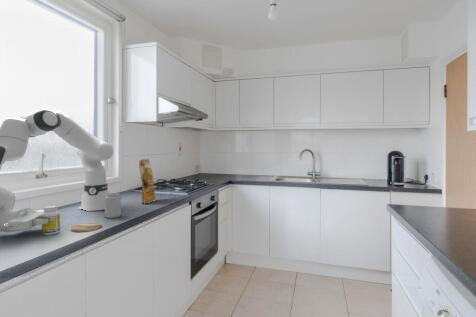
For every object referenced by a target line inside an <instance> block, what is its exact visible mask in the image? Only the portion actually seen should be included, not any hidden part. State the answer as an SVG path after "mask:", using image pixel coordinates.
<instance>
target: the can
mask: <svg viewBox="0 0 476 317" xmlns="http://www.w3.org/2000/svg"><path fill="white" fill-rule="evenodd" d="M104 199H105V209H104V216H105V217H106V219H116V218H119V217H120V216H121V215H122V204H121V199H122V197H121V195H120V193H119V192H111V193H110V192H109V194H106V196H105V198H104Z"/></svg>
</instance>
